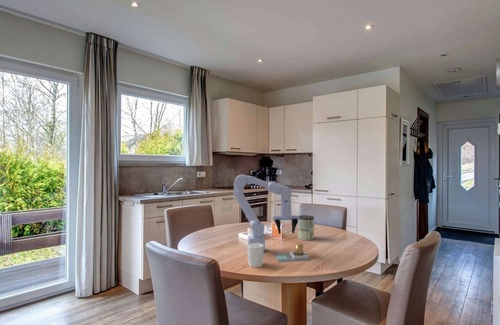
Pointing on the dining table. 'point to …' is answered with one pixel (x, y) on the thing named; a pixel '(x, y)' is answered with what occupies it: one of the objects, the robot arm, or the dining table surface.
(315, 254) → the dining table surface
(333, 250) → the dining table surface
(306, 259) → the gray board
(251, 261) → the white cup
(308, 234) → the coffee can
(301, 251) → the cell
